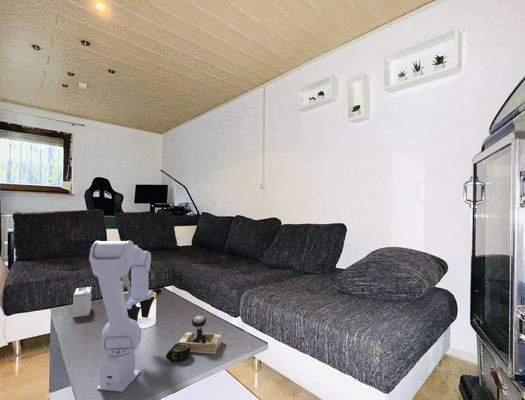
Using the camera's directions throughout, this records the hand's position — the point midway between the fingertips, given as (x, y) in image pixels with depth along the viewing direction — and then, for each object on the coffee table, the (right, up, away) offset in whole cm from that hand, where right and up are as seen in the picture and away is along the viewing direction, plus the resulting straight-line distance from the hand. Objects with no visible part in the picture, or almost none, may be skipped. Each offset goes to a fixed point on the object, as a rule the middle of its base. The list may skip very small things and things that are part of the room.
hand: (139, 321), depth 101 cm
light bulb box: (-42, -11, +33) cm, 55 cm away
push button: (+20, -10, +3) cm, 23 cm away
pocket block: (+21, -11, +3) cm, 24 cm away
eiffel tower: (-26, -11, +42) cm, 51 cm away
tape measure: (+15, -11, -4) cm, 19 cm away
